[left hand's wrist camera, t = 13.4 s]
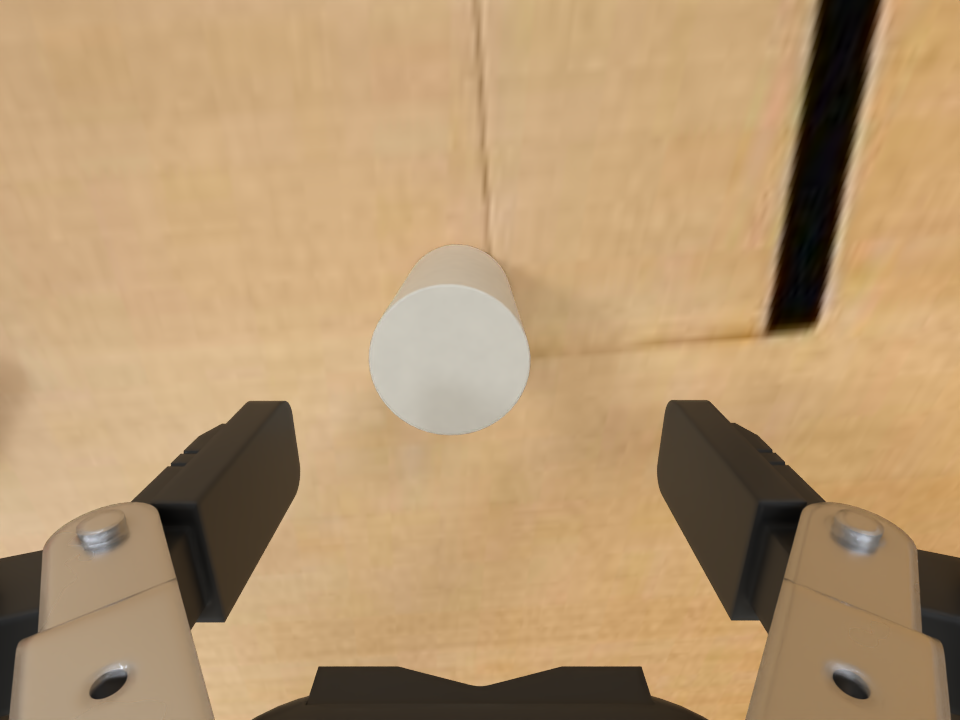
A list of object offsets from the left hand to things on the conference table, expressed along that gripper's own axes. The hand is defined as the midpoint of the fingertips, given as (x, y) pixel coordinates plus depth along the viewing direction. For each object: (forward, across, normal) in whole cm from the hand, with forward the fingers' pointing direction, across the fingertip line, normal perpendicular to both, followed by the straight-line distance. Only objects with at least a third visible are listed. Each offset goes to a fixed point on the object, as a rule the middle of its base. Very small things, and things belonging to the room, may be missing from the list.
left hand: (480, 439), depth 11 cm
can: (+13, -1, 0) cm, 13 cm away
